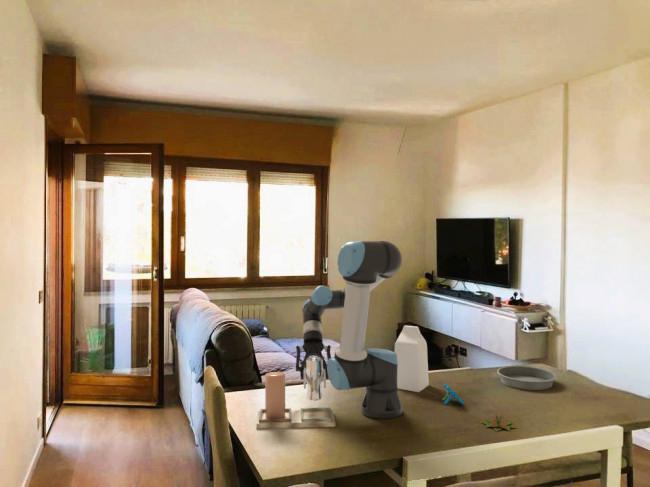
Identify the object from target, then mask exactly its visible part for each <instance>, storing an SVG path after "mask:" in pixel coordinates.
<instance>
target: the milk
mask: <svg viewBox="0 0 650 487" xmlns="http://www.w3.org/2000/svg"><path fill="white" fill-rule="evenodd" d="M393 350H394V351H393V352H394V353H396V355H397V361H398V365H397V390H404V391H411V392H416V393H420V392H422V391H423V390H424V389H425V388H427V387H428V386H429V385H430V384H429V383H430V381H429V363H428V360H429V359H428V344H427V341H426V339H425V338H424V336H423V335H422V333H421V331H420V328H419V326H414V325H403V328H402V330H401V332H400V333H399V335H398V338H397V339H396V341H395V343H394V349H393Z"/></svg>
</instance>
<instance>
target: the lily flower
mask: <svg viewBox="0 0 650 487" xmlns="http://www.w3.org/2000/svg"><path fill="white" fill-rule="evenodd" d="M493 415H494V416H491V418H492V419H488V420H487V421H480V423H482V424H484V425H485V428H489V427H492V429H493V430H495V431H496V432H497V431H501V430H503V429H505V430H507V431H510V432H511V429H513V428H514V429H515V428H516V429H518V426H514V425H513V424H511V422H509V421H506V420H505V418H504V417H505V416H506V414H505V413H502V415H501V416H498V415H497V414H496V413H493ZM500 425H501V427H500Z"/></svg>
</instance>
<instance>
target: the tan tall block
mask: <svg viewBox="0 0 650 487" xmlns="http://www.w3.org/2000/svg"><path fill="white" fill-rule="evenodd" d="M264 382H265V383H264V384H265V385H264V386H265V398H264V400H265V405H264V406H265V407H264V409H265V417H266V419H284V418H285V409H286V373H284V372H280V371H271V372H267V373H265V380H264Z"/></svg>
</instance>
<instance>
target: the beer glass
mask: <svg viewBox="0 0 650 487" xmlns="http://www.w3.org/2000/svg"><path fill="white" fill-rule="evenodd" d="M305 372H306V388H307V392H306V393H307V394H306V399H307V401H314V402H315V401H321V400H323V398H324V397H323V392H322V387H323V372H324V366H323V358H321V357H318V356H309V357H308V358H306V363H305Z"/></svg>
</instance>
